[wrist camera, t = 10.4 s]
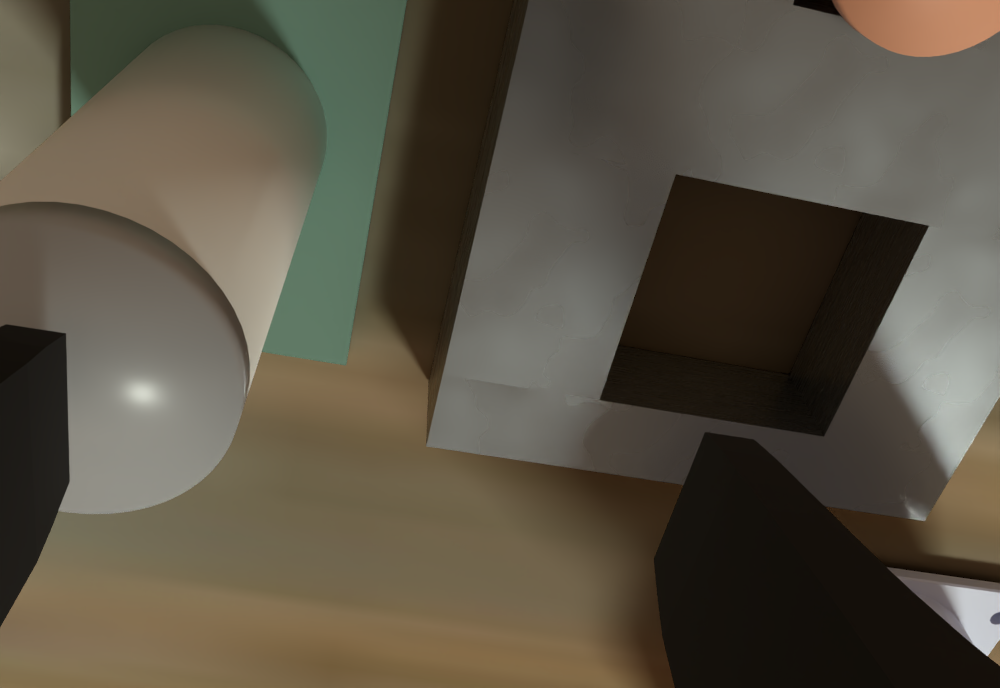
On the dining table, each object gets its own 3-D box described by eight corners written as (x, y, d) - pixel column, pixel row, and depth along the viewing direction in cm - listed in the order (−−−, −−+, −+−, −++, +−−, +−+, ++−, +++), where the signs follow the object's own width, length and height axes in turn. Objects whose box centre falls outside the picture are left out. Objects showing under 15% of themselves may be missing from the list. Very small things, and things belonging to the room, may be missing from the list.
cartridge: (315, 237, 20) (229, 533, 12) (119, 202, 19) (-103, 490, 12) (339, 49, 18) (254, 260, 10) (121, 4, 17) (-145, 191, 10)
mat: (348, 351, 22) (346, 365, 21) (82, 307, 21) (73, 321, 21) (425, -108, 17) (424, -105, 16) (80, -191, 16) (68, -190, 16)
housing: (883, 455, 24) (924, 521, 22) (428, 382, 23) (426, 446, 20) (1237, -193, 17) (1350, -187, 15) (598, -381, 15) (622, -406, 13)
